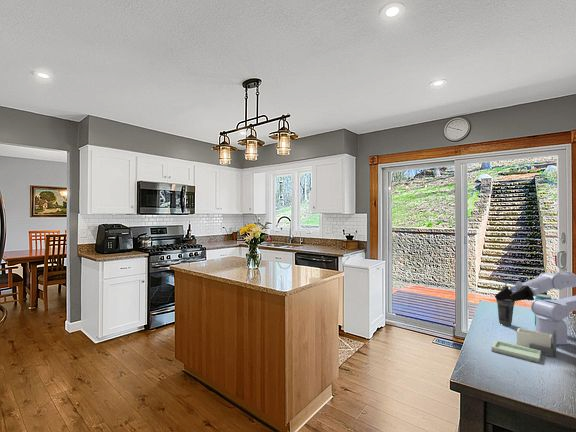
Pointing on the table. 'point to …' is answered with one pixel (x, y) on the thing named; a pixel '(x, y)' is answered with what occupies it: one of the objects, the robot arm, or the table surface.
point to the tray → (517, 351)
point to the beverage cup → (505, 311)
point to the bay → (544, 349)
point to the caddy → (533, 338)
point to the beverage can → (542, 297)
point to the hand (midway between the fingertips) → (503, 298)
